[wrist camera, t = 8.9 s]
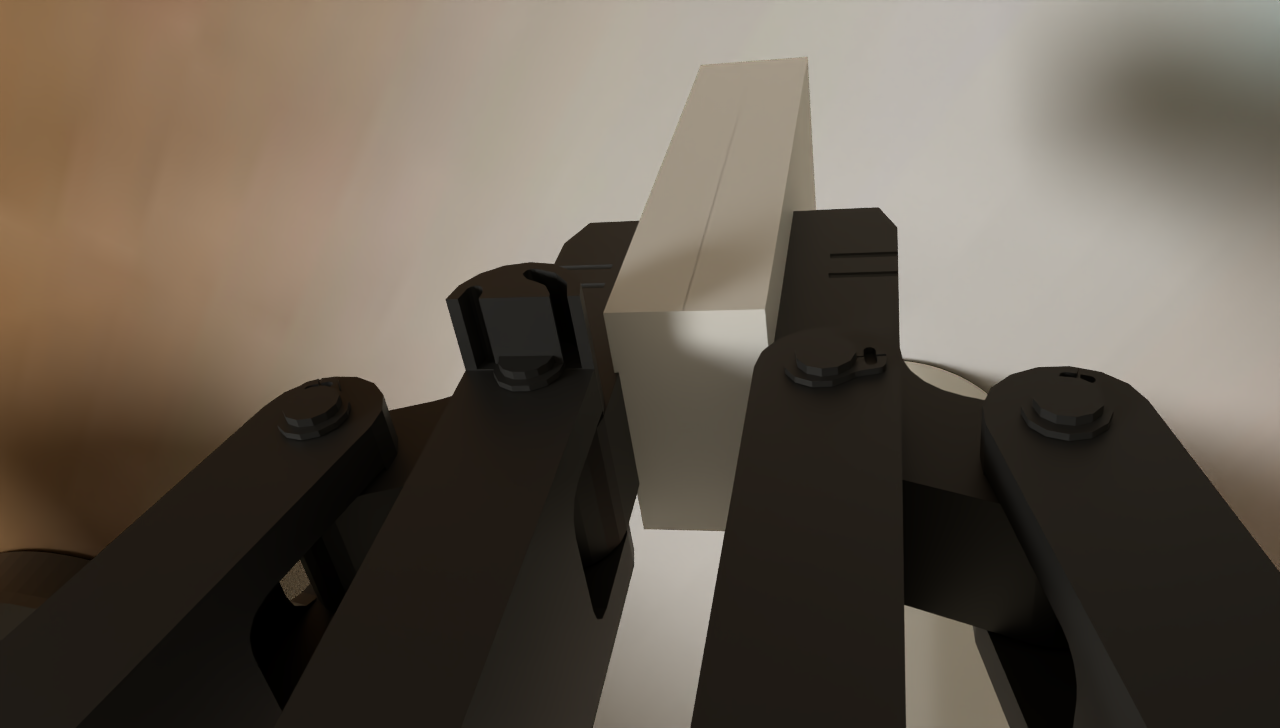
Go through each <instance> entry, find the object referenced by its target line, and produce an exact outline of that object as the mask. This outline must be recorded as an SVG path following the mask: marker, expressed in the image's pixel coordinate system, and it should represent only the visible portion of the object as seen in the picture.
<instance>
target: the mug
mask: <svg viewBox="0 0 1280 728" xmlns="http://www.w3.org/2000/svg"><path fill="white" fill-rule="evenodd" d="M904 362H905V363H906V365H907V366H908V367H909V369H910V370H911V371H912V372H913V373H915V374H916V375H917V376H918V377H920V378H921V379H922V380H924V381H925V382H927V383H929V384H931V385H934V386H936V387H938V388H940V389H942V390H945V391H949V392H952V393H956V394H959V395H963V396H967V397H972V398H977V399H982V400H985V399H986V397H987V395H988V394H987V393H985V392H984V391H983V390H982V389H980V388H979V387H977V386H976V385H974V384H973V383H971V382H969V381H967V380H966V379H964V378H962V377H960V376H958V375H955V374H953V373H951V372H948V371H946V370H943V369H940V368H937V367H933V366H929V365H925V364H921V363H915V362H908V361H904ZM904 622H905V687H906V728H1010V727H1009V725H1008V722H1007V720H1006V717H1005V715H1004V713H1003V710H1002V708H1001V705H1000V703H999V700H998V698H997V695H996V693H995V690H994V688H993V685H992V683H991V680H990V678H989V675H988V673H987V670H986V668H985V665H984V663H983V660H982V658H981V655H980V653H979V651H978V648H977V646H976V643H975V638H974V631H973V626H972V625H968V624H965V623H962V622H958V621H955V620H952V619H949V618H945V617H942V616H939V615H936V614H932V613H929V612H926V611H922V610H919V609H916V608H913V607H909V606H906V605H904Z"/></svg>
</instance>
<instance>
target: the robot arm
mask: <svg viewBox="0 0 1280 728" xmlns="http://www.w3.org/2000/svg"><path fill="white" fill-rule="evenodd" d="M446 302H447V306H448V309H449V313H450V316H451V320H452V323H453V327H454V330H455V334H456V337H457V341H458V345H459V348H460V352H461V355H462V359H463V362H464V366H465V369H466V371H465V373H464V375H463V377H462V379H461V381H460V382H459V384H458V386H457V388H456V390H455V392H454V394H453V395H452V396H451V397H447V398H444V399H440V400H437V401H433V402H428V403H423V404H418V405H414V406H409V407H404V408H399V409H395V410H390V411H389V410H388V407H387V405H386V402H385V399H384V396H383V394H382V393H381V391H380V390H379V389H378V387H377V386H376V385H375V384H374V383H372V382H369V381H366V380H364V379H361V378H358V377H329V378H322V379H321V380H319V379H317V380H313V381H309V382H306V383H304V384H302V385H301V386H298V387H296V388H294V389H291V390H289V391H287V392H284V393H283V394H282V395H280V396H279V397H277V398H276V399H274V400H273V401H271V402H270V403H268V404H267V405H266V406H264V407H263V408H262V409H261V410H260V411H259V412H257V413H256V414H255V415H254V416H253V417H252V418H251V419H250V420H248V421H247V422H246V423H245V424H244V425H243V426H242V427H241V428H239V429H238V430H237V431H236V432H235V433H234V434H233V435H232V436H230V437H229V438H228V439H227V440H226V441H225V442H224V443H223V444H221V445H220V446H219V447H218V448H217V449H216V450H215V451H214V452H212V453H211V454H210V455H209V456H208V457H207V458H206V459H205V460H203V461H202V462H201V463H200V464H199V465H198V466H197V467H196V468H195V469H193V470H192V471H191V472H190V473H189V474H188V475H187V476H186V477H184V478H183V479H182V480H181V481H180V482H179V483H178V484H177V485H175V486H174V487H173V488H172V489H171V490H170V491H169V492H168V493H166V494H165V495H164V496H163V497H162V498H161V499H160V500H159V501H157V502H156V503H155V504H154V505H153V506H152V507H151V508H150V509H148V510H147V511H146V512H145V513H144V514H143V515H142V516H141V517H139V518H138V519H137V520H136V521H135V522H134V523H133V524H132V525H130V526H129V527H128V528H127V529H126V530H125V531H124V532H123V533H121V534H120V535H119V536H118V537H117V538H116V539H115V540H114V541H112V542H111V543H110V544H109V545H108V546H107V547H106V548H105V549H103V550H102V551H101V552H100V553H99V554H98V555H97V556H96V557H94V558H93V559H92V560H91V561H90V560H86V559H82V558H77V557H72V556H68V555H61V554H55V553H46V552H30V551H20V552H6V553H0V728H593V724H594V720H595V716H596V712H597V709H598V705H599V701H600V697H601V693H602V689H603V685H604V681H605V677H606V673H607V669H608V666H609V662H610V658H611V654H612V650H613V646H614V642H615V638H616V634H617V630H618V626H619V622H620V619H621V615H622V611H623V607H624V603H625V599H626V595H627V591H628V587H629V583H630V579H631V576H632V572H633V568H634V547H633V542H632V537H631V532H630V527H629V520H630V517H631V513H632V510H633V506H634V502H635V499H636V495H637V494H638V500H639V505H640V510H641V515H642V521H643V526H644V529H664V530H703V531H725V534H724V540H723V546H722V551H721V557H720V563H719V569H718V574H717V580H716V586H715V591H714V597H713V603H712V608H711V614H710V620H709V626H708V631H707V637H706V643H705V648H704V654H703V660H702V665H701V671H700V677H699V682H698V688H697V694H696V700H695V705H694V711H693V717H692V722H691V728H906V687H905V622H904V605H906V606H909V607H913V608H916V609H919V610H922V611H926V612H929V613H932V614H936V615H939V616H942V617H945V618H949V619H952V620H955V621H958V622H962V623H965V624H968V625H972V626H973V631H974V638H975V643H976V646H977V648H978V651H979V653H980V655H981V658H982V660H983V663H984V665H985V668H986V670H987V673H988V675H989V678H990V680H991V683H992V685H993V688H994V690H995V693H996V695H997V698H998V700H999V703H1000V705H1001V708H1002V710H1003V713H1004V715H1005V717H1006V720H1007V722H1008V725H1009V727H1010V728H1280V572H1279V571H1278V570H1277V568H1276V567H1275V566H1274V564H1273V563H1272V562H1271V560H1270V559H1269V558H1268V556H1267V555H1266V554H1265V553H1264V551H1263V550H1262V549H1261V547H1260V546H1259V545H1258V543H1257V542H1256V541H1255V539H1254V538H1253V537H1252V536H1251V534H1250V533H1249V532H1248V530H1247V529H1246V528H1245V526H1244V525H1243V524H1242V522H1241V521H1240V520H1239V519H1238V517H1237V516H1236V515H1235V513H1234V512H1233V511H1232V509H1231V508H1230V507H1229V505H1228V504H1227V503H1226V502H1225V500H1224V499H1223V498H1222V496H1221V495H1220V494H1219V492H1218V491H1217V490H1216V488H1215V487H1214V486H1213V485H1212V483H1211V482H1210V481H1209V479H1208V478H1207V477H1206V475H1205V474H1204V473H1203V471H1202V470H1201V469H1200V468H1199V466H1198V465H1197V464H1196V462H1195V461H1194V460H1193V458H1192V457H1191V456H1190V454H1189V453H1188V452H1187V451H1186V449H1185V448H1184V447H1183V445H1182V444H1181V443H1180V441H1179V440H1178V439H1177V437H1176V436H1175V435H1174V434H1173V432H1172V431H1171V430H1170V428H1169V427H1168V426H1167V424H1166V423H1165V422H1164V420H1163V419H1162V418H1161V417H1160V415H1159V414H1158V413H1157V411H1156V410H1155V409H1154V407H1153V406H1152V405H1151V403H1150V402H1149V401H1148V400H1147V399H1146V398H1145V397H1143V396H1142V395H1141V394H1140V393H1139V392H1138V391H1136V390H1135V389H1134V388H1133V387H1132V386H1131V385H1129V384H1128V383H1125V382H1123V381H1121V380H1119V379H1116V378H1114V377H1112V376H1109V375H1107V374H1105V373H1102V372H1098V371H1093V370H1087V369H1082V368H1076V367H1071V366H1062V367H1037V368H1033V369H1030V370H1026V371H1022V372H1019V373H1015V374H1011V375H1009V376H1008V377H1006V378H1005V379H1003V380H1002V381H1000V382H999V383H998V384H996V385H995V386H993V387H992V388H991V389H990V391H989V393H988V395H987V397H986V399H985V400H982V399H977V398H972V397H967V396H963V395H959V394H956V393H952V392H949V391H945V390H942V389H940V388H938V387H936V386H934V385H931V384H929V383H927V382H925V381H924V380H922V379H921V378H920V377H918V376H917V375H916V374H915V373H913V372H912V371H911V370H910V369H909V367H908V366H907V365H906V363H905V362H904V360H903V359H902V355H901V351H900V343H899V291H898V240H897V227H896V226H895V225H894V224H893V222H892V221H891V220H890V219H889V218H888V217H887V216H886V215H885V214H884V213H883V212H882V211H881V209H880V208H879V207H878V208H855V209H832V210H816V202H815V184H814V166H813V147H812V129H811V111H810V92H809V74H808V57H800V58H787V59H774V60H761V61H748V62H734V63H721V64H708V65H701V66H700V69H699V71H698V74H697V76H696V79H695V81H694V84H693V86H692V89H691V92H690V94H689V97H688V99H687V102H686V104H685V107H684V109H683V112H682V114H681V117H680V119H679V122H678V125H677V127H676V130H675V132H674V135H673V137H672V140H671V142H670V145H669V147H668V150H667V152H666V155H665V157H664V160H663V163H662V165H661V168H660V170H659V173H658V175H657V178H656V180H655V183H654V185H653V188H652V190H651V193H650V196H649V198H648V201H647V203H646V206H645V208H644V211H643V213H642V216H641V218H640V221H624V222H601V223H590V224H588V225H587V226H586V227H585V228H583V229H582V230H581V231H580V232H578V233H577V234H576V235H575V236H573V237H572V238H571V239H570V240H568V241H567V242H566V243H565V244H564V245H563V247H562V249H561V251H560V253H559V256H558V258H557V260H556V262H555V264H546V263H533V262H529V263H521V264H514V265H506V266H502V267H499V268H496V269H493V270H490V271H487V272H484V273H481V274H478V275H477V276H475V277H473V278H471V279H470V280H468V281H466V282H464V283H463V284H461V285H459V286H458V287H457V288H456V289H455V290H454V291H453V292H452V293H451V294H450V295H449V296H448V298H447V299H446ZM299 560H301V562H302V565H303V567H304V569H305V571H306V574H307V576H308V578H309V580H310V584H309V586H308V587H307V588H306V589H305V590H304V591H303V592H302V593H301V594H299V595H298V596H297V597H295V598H294V599H293V600H291V601H290V600H289V599H288V598H287V597H286V595H285V593H284V591H283V589H282V587H281V585H280V583H279V581H280V580H281V579H282V578H283V577H284V576H285V575H286V574H287V573H288V572H289V570H290V569H291V568H292V567H293V566H294V565H295V564H296V563H297V562H298V561H299Z"/></svg>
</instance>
